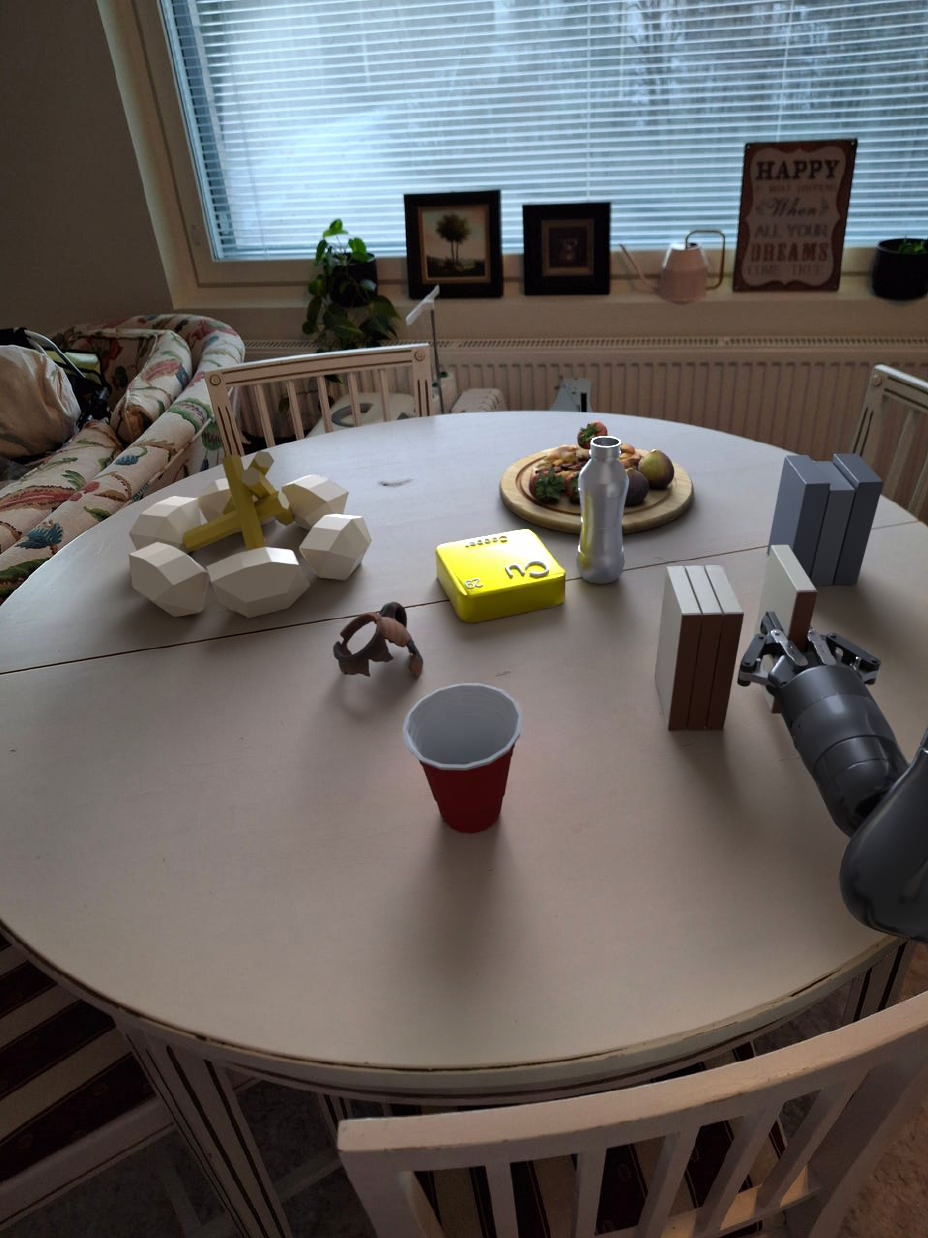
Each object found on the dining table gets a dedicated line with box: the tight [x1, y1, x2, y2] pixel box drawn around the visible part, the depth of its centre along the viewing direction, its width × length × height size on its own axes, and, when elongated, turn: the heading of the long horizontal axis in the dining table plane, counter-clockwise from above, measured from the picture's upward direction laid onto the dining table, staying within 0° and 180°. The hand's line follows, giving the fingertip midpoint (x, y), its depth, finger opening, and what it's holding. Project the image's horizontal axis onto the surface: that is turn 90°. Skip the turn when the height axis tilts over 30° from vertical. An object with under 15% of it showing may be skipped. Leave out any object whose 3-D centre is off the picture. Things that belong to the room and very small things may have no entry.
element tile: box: [434, 529, 567, 624], centre depth 110 cm, size 15×15×5 cm
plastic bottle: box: [575, 436, 629, 584], centre depth 107 cm, size 6×7×20 cm
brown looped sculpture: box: [332, 601, 424, 679], centre depth 97 cm, size 12×10×8 cm
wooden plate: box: [498, 421, 695, 535], centre depth 132 cm, size 32×32×8 cm
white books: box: [654, 564, 745, 732], centre depth 85 cm, size 6×9×15 cm, turn 178°
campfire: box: [128, 450, 373, 619], centre depth 116 cm, size 35×34×17 cm
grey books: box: [766, 452, 884, 587], centre depth 107 cm, size 9×9×15 cm
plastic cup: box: [401, 682, 524, 835], centre depth 74 cm, size 11×11×12 cm
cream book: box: [753, 545, 819, 715], centre depth 83 cm, size 2×9×15 cm, turn 178°
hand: (779, 618), depth 83 cm, fingers closed on cream book, 2 cm apart
